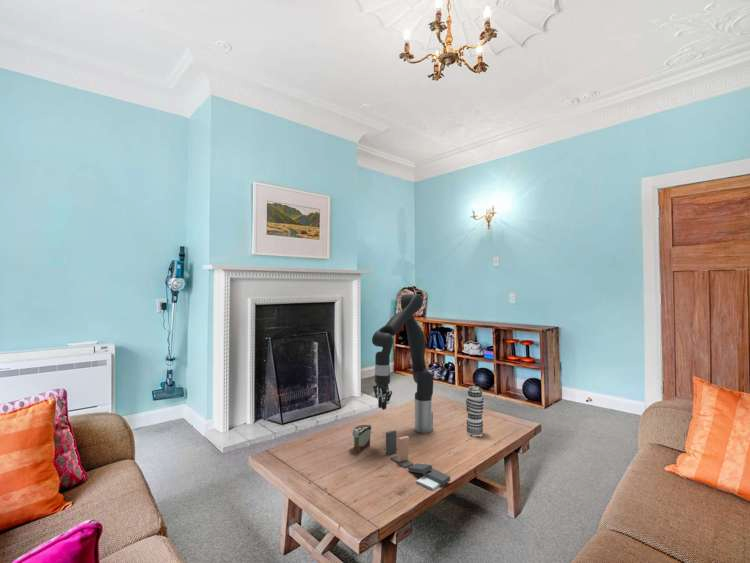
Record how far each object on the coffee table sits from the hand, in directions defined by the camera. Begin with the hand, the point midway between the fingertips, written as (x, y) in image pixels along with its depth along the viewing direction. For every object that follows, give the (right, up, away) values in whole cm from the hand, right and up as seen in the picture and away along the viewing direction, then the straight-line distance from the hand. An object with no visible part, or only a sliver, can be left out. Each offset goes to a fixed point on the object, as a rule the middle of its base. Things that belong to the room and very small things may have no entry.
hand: (382, 408), depth 182 cm
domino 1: (+4, -19, -6) cm, 20 cm away
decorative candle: (+50, -20, +17) cm, 56 cm away
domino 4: (+13, -18, -22) cm, 31 cm away
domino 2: (+9, -18, -15) cm, 25 cm away
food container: (-11, -19, -1) cm, 22 cm away
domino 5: (+18, -17, -27) cm, 37 cm away
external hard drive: (+20, -20, -31) cm, 42 cm away
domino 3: (+6, -19, -11) cm, 23 cm away
